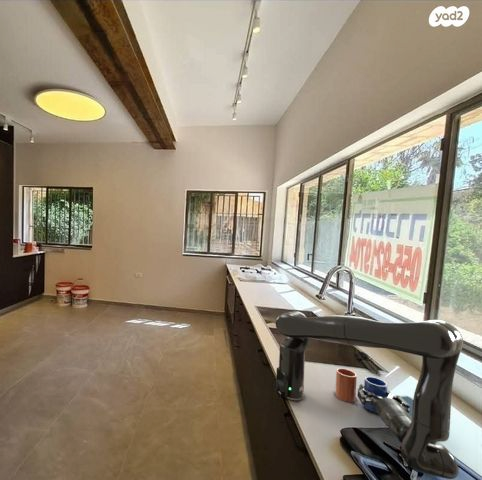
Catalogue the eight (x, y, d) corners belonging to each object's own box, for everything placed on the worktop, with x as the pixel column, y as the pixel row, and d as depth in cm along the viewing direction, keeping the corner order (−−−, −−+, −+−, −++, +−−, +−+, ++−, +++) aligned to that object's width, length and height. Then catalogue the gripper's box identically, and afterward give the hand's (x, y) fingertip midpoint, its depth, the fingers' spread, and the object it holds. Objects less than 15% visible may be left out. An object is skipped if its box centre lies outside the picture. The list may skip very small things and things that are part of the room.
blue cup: (374, 414, 96) (376, 386, 96) (358, 402, 103) (360, 376, 103) (390, 413, 97) (392, 386, 97) (374, 401, 104) (375, 376, 103)
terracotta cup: (344, 402, 104) (345, 377, 103) (331, 392, 110) (332, 368, 110) (359, 401, 104) (361, 376, 104) (346, 391, 111) (347, 367, 111)
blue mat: (413, 422, 93) (413, 421, 93) (378, 399, 106) (378, 398, 106) (445, 419, 95) (445, 419, 95) (407, 397, 108) (407, 396, 108)
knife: (381, 377, 123) (382, 374, 123) (364, 373, 126) (364, 370, 126) (367, 354, 146) (367, 352, 146) (352, 351, 148) (353, 349, 148)
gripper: (424, 410, 84) (395, 382, 100) (369, 400, 88) (350, 375, 104) (422, 434, 84) (394, 402, 100) (368, 423, 89) (349, 394, 104)
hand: (372, 388), depth 102 cm, fingers closed on blue cup, 6 cm apart
